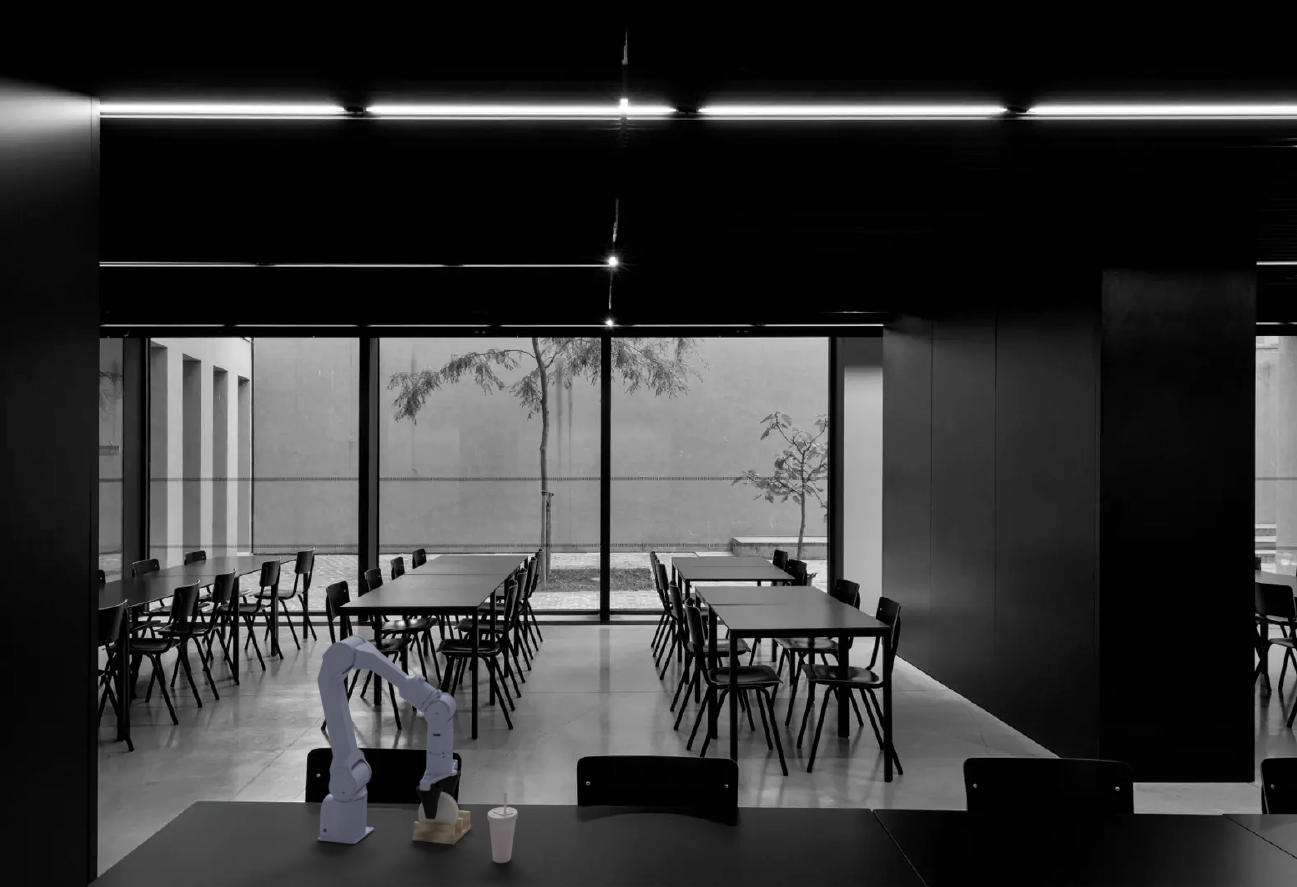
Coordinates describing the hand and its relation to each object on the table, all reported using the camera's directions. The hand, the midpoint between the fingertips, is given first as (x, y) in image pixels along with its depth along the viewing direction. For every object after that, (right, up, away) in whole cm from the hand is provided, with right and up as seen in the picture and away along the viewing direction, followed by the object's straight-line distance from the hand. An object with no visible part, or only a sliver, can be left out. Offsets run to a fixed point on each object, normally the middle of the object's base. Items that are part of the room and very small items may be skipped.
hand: (438, 811), depth 183 cm
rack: (0, -6, +2) cm, 6 cm away
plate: (0, -5, 0) cm, 5 cm away
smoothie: (+16, -5, -11) cm, 20 cm away
